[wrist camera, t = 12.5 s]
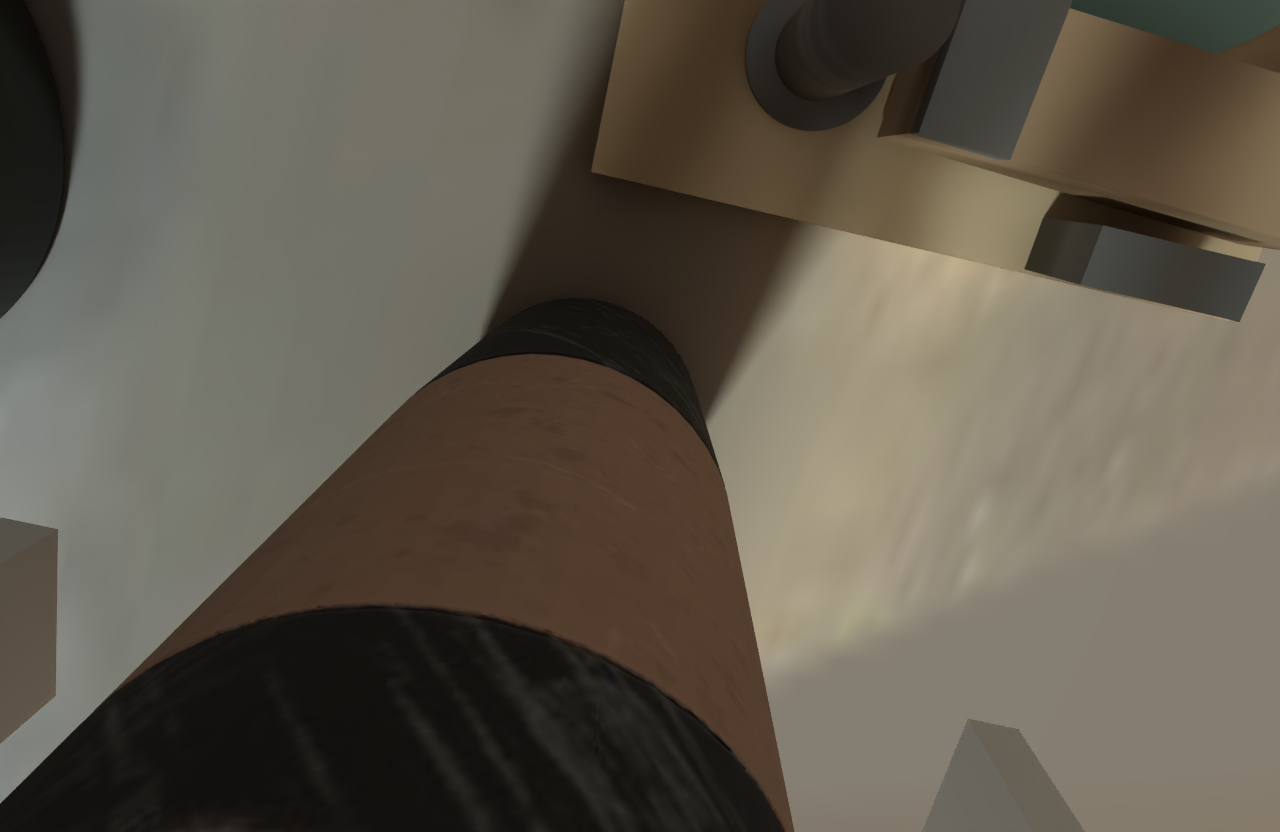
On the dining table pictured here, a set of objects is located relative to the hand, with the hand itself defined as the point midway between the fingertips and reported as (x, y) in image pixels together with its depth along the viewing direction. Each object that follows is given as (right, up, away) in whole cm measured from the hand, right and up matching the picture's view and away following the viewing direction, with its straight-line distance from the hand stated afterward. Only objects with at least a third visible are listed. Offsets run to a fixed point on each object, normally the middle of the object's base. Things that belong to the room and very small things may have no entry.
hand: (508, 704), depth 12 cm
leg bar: (+13, +11, +9) cm, 19 cm away
